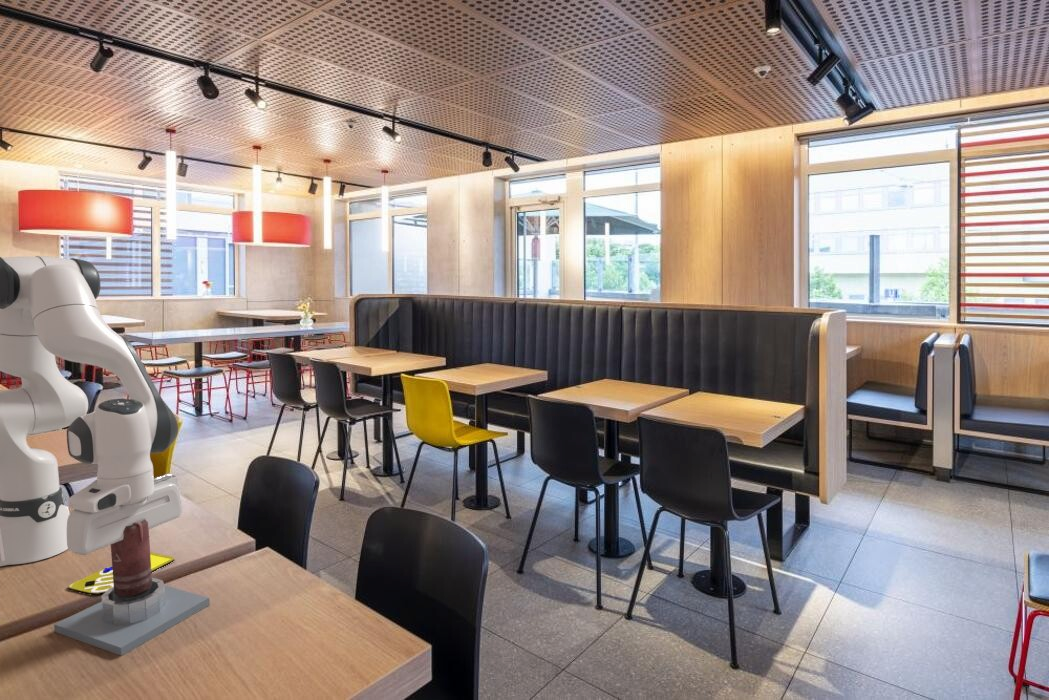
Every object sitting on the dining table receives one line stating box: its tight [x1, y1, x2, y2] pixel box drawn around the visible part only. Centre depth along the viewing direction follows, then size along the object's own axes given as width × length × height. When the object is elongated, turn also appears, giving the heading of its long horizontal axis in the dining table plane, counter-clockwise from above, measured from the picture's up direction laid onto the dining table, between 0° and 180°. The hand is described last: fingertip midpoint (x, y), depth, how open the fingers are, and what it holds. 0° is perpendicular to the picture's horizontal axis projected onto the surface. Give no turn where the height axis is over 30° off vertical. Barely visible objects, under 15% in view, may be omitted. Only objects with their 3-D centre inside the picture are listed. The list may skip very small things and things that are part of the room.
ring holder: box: [100, 577, 166, 626], centre depth 118 cm, size 10×10×4 cm
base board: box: [53, 584, 211, 657], centre depth 118 cm, size 18×18×2 cm
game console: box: [68, 551, 175, 596], centre depth 135 cm, size 18×11×2 cm, turn 162°
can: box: [110, 520, 153, 598], centre depth 117 cm, size 6×6×14 cm
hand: (131, 557), depth 117 cm, fingers closed, pressing on can
